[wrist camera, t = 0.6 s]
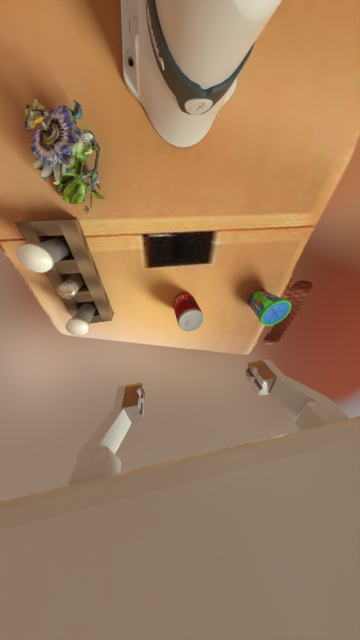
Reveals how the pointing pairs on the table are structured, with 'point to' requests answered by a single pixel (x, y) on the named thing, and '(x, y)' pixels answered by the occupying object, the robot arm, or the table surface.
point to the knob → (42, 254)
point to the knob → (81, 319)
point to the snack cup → (269, 307)
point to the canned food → (187, 312)
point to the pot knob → (70, 287)
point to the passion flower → (63, 150)
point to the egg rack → (71, 264)
